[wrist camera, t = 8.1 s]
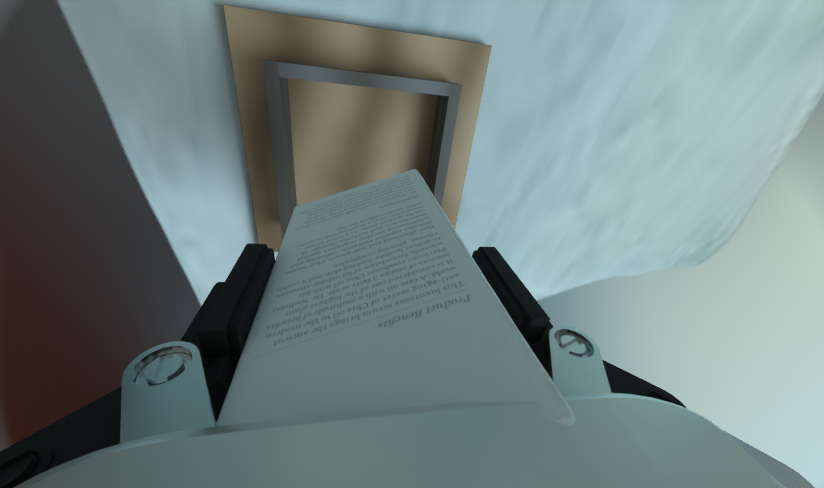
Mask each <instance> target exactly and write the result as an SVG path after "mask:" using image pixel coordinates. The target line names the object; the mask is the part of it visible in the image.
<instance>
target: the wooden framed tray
mask: <svg viewBox="0 0 824 488" xmlns="http://www.w3.org/2000/svg"><path fill="white" fill-rule="evenodd" d="M223 6H224V12H225V19H226V26H227V33H228V40H229V46H230V53H231V60H232V67H233V73H234V80H235V87H236V94H237V100H238V107H239V114H240V121H241V127H242V134H243V141H244V148H245V155H246V161H247V168H248V175H249V182H250V188H251V195H252V202H253V209H254V215H255V222H256V229H257V236H258V242H259V244H266V245H267V247H268V248H273V250H274V252H279V250H280V247H281V244H282V241H283V238H284V235H285V233H286V230H287V227H288V224H289V221H290V219H291V216H292V214H293V211H294V208H295V207H296V206H299V205H302V204H305V203H309V202H312V201H315V200H318V199H322V198H325V197H328V196H331V195H334V194H337V193H340V192H343V191H347V190H350V189H353V188H356V187H359V186H362V185H365V184H368V183H372V182H375V181H378V180H381V179H384V178H387V177H391V176H394V175H397V174H400V173H403V172H406V171H409V170H412V169H416V170H417V171H418V172H419V173H420V175H421V176H422V178H423V179H424V181H425V183H426V184H427V186H428V187H429V189H430V191H431V192H432V194H433V195H434V197H435V199H436V200H437V202H438V203H439V205H440V206H441V208H442V210H443V211H444V213H445V214H446V216H447V218H448V219H449V221H450V222H451V224H452V226H453V227H454V229H455V226H456V221H457V216H458V211H459V206H460V201H461V196H462V191H463V186H464V181H465V176H466V171H467V166H468V161H469V156H470V151H471V146H472V141H473V136H474V131H475V126H476V121H477V116H478V111H479V106H480V101H481V97H482V92H483V87H484V82H485V77H486V72H487V67H488V62H489V57H490V52H491V47H492V45H485V44H478V43H472V42H465V41H459V40H452V39H445V38H439V37H432V36H426V35H419V34H412V33H406V32H399V31H393V30H386V29H379V28H373V27H366V26H360V25H353V24H346V23H340V22H333V21H327V20H320V19H313V18H307V17H300V16H294V15H287V14H280V13H274V12H267V11H261V10H254V9H247V8H241V7H234V6H228V5H223Z"/></svg>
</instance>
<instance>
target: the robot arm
mask: <svg viewBox="0 0 824 488" xmlns="http://www.w3.org/2000/svg"><path fill="white" fill-rule="evenodd" d="M472 257H473V259H474V261H475V262H476V264H477V265H478V267H479V268H480V270H481V272H482V273H483V275H484V276H485V278H486V280H487V281H488V283H489V284H490V286H491V287H492V289H493V290H494V292H495V293H496V295H497V297H498V298H499V300H500V302H501V303H502V305H503V306H504V308H505V309H506V311H507V312H508V314H509V316H510V317H511V319H512V320H513V322H514V324H515V325H516V327H517V328H518V330H519V331H520V333H521V334H522V336H523V337H524V338H525V340H526V341H527V343H528V345H529V346H530V348H531V349H532V351H533V353H534V354H535V356H536V357H537V359H538V360H539V362H540V363H541V364H542V366H543V367H544V369H545V370H546V372H547V373H548V375H549V376H550V378H551V379H552V381H553V382H554V384H555V386H556V387H557V389H558V390H559V392H560V393H561V395H562V396H563V398H564V399H565V401H566V402H567V404H568V405H569V407H570V408H571V410H572V412H573V413H574V416H575V423H574V424H572V425H565V424H560V423H556V422H552V421H551V420H550V419H549V418H548V417H547V416H546V414H545V413H544V411H543V409H542V408H541V406H540V404H539V403H538V402H471V403H453V404H441V405H430V406H419V407H408V408H397V409H386V410H375V411H364V412H353V413H343V414H332V415H322V416H311V417H301V418H290V419H280V420H269V421H260V422H251V423H242V424H233V425H224V426H217V420H218V417H219V415H220V412H221V409H222V406H223V404H224V401H225V398H226V395H227V393H228V390H229V387H230V385H231V382H232V379H233V376H234V373H235V370H236V367H237V365H238V362H239V359H240V357H241V354H242V351H243V348H244V346H245V343H246V340H247V337H248V335H249V332H250V329H251V326H252V323H253V321H254V318H255V315H256V313H257V310H258V307H259V304H260V301H261V299H262V296H263V293H264V291H265V287H266V285H267V282H268V279H269V277H270V274H271V271H272V269H273V266H274V263H275V257H274V250H273V248H268V247H267V245H266V244H247V245H246V247H245V248H244V250H243V252H242V253H241V255H240V257H239V259H238V260H237V262H236V264H235V266H234V267H233V269H232V271H231V272H230V274H229V276H228V278H227V279H226V281H225V282H218V283H216V284H215V286H214V287H213V289H212V290H211V292H210V293H209V295H208V297H207V298H206V300H205V302H204V303H203V305H202V306H201V308H200V310H199V311H198V313H197V315H196V316H195V318H194V319H193V321H192V323H191V324H190V326H189V328H188V329H187V331H186V332H185V334H184V336H183V337H182V339H181V341H176V342H169V343H165V344H161V345H158V346H156V347H153V348H151V349H149V350H147V351H145V352H144V353H142V354H140V355H139V356H138V357H136V358H135V359H134V360H133V361H132V362H131V363H130V364H129V365H128V367H127V368H126V370H125V371H124V374H123V377H122V386H121V387H120V388H118V389H116V390H114V391H112V392H110V393H109V394H107V395H105V396H103V397H101V398H99V399H97V400H95V401H93V402H92V403H90V404H88V405H86V406H84V407H82V408H80V409H79V410H77V411H75V412H73V413H71V414H69V415H67V416H65V417H64V418H62V419H60V420H58V421H56V422H54V423H53V424H51V425H49V426H47V427H45V428H43V429H41V430H39V431H38V432H36V433H34V434H32V435H30V436H28V437H26V438H24V439H23V440H21V441H19V442H17V443H15V444H13V445H11V446H10V447H8V448H6V449H4V450H2V451H0V488H814V487H813V485H811V483H809V482H808V481H807V480H806V479H805V478H804V477H802V476H801V475H800V474H799V473H797V472H796V471H794V470H793V469H791V468H790V467H788V466H786V465H785V464H783V463H781V462H779V461H778V460H776V459H774V458H772V457H770V456H768V455H767V454H765V453H763V452H761V451H760V450H758V449H756V448H754V447H752V446H750V445H749V444H747V443H745V442H743V441H741V440H740V439H738V438H736V437H734V436H732V435H730V434H729V433H727V432H725V431H723V430H721V429H720V428H719V427H717V426H716V425H715V424H713V423H712V422H711V421H709V420H708V419H706V418H705V417H703V416H701V415H699V414H698V413H696V412H693V411H691V410H689V409H687V408H686V407H685V406H684V405H683V404H682V403H681V402H680V401H679V400H678V399H676V398H675V397H674V396H673V395H671V394H669V393H668V392H666V391H665V390H663V389H661V388H659V387H657V386H654V385H652V384H651V383H649V382H647V381H644V380H642V379H640V378H638V377H636V376H634V375H632V374H630V373H628V372H626V371H624V370H622V369H620V368H618V367H616V366H614V365H612V364H610V363H608V362H606V361H604V360H602V357H601V354H600V350H599V348H598V346H597V344H596V343H595V342H594V341H593V340H592V339H591V338H590V337H589V336H588V335H586V334H585V333H583V332H581V331H580V330H578V329H575V328H572V327H568V326H556V327H553V326H552V325H551V323H550V322H549V320H550V318H549V317H548V316H547V314H546V313H545V312H544V310H543V309H542V308H541V306H540V305H539V304H538V303H537V301H536V300H535V299H534V297H533V296H532V295H531V293H530V292H529V291H528V290H527V288H526V287H525V286H524V284H523V283H522V282H521V280H520V279H519V278H518V277H517V275H516V274H515V273H514V271H513V270H512V269H511V267H510V266H509V265H508V264H507V262H506V261H505V260H504V258H503V257H502V256H501V254H500V253H499V252H498V251H497V249H496V248H495V247H479V248H478V250H477V251H474V252H473V255H472Z"/></svg>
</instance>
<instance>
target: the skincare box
mask: <svg viewBox="0 0 824 488" xmlns="http://www.w3.org/2000/svg"><path fill="white" fill-rule="evenodd" d="M471 402H538V403H539V404H540V406H541V408H542V409H543V411H544V413H545V414H546V416H547V417H548V418H549V419H550V420H551V421H552V422H556V423H560V424H565V425H572V424H574V423H575V416H574V413H573V412H572V410H571V408H570V407H569V405H568V404H567V402H566V401H565V399H564V398H563V396H562V395H561V393H560V392H559V390H558V389H557V387H556V386H555V384H554V382H553V381H552V379H551V378H550V376H549V375H548V373H547V372H546V370H545V369H544V367H543V366H542V364H541V363H540V362H539V360H538V359H537V357H536V356H535V354H534V353H533V351H532V349H531V348H530V346H529V345H528V343H527V341H526V340H525V338H524V337H523V336H522V334H521V333H520V331H519V330H518V328H517V327H516V325H515V324H514V322H513V320H512V319H511V317H510V316H509V314H508V312H507V311H506V309H505V308H504V306H503V305H502V303H501V302H500V300H499V298H498V297H497V295H496V293H495V292H494V290H493V289H492V287H491V286H490V284H489V283H488V281H487V280H486V278H485V276H484V275H483V273H482V272H481V270H480V268H479V267H478V265H477V264H476V262H475V261H474V259H473V257H472V256H471V254H470V253H469V251H468V249H467V248H466V246H465V245H464V243H463V241H462V240H461V238H460V237H459V235H458V234H457V232H456V230H455V229H454V227H453V226H452V224H451V222H450V221H449V219H448V218H447V216H446V214H445V213H444V211H443V210H442V208H441V206H440V205H439V203H438V202H437V200H436V199H435V197H434V195H433V194H432V192H431V191H430V189H429V187H428V186H427V184H426V183H425V181H424V179H423V178H422V176H421V175H420V173H419V172H418V171H417V170H416V169H412V170H409V171H406V172H403V173H400V174H397V175H394V176H391V177H387V178H384V179H381V180H378V181H375V182H372V183H368V184H365V185H362V186H359V187H356V188H353V189H350V190H347V191H343V192H340V193H337V194H334V195H331V196H328V197H325V198H322V199H318V200H315V201H312V202H309V203H305V204H302V205H299V206H296V207H295V208H294V211H293V214H292V216H291V219H290V221H289V224H288V227H287V230H286V233H285V235H284V238H283V241H282V244H281V247H280V250H279V252H278V255H277V257H276V260H275V263H274V266H273V269H272V271H271V274H270V277H269V279H268V282H267V285H266V287H265V291H264V293H263V296H262V299H261V301H260V304H259V307H258V310H257V313H256V315H255V318H254V321H253V323H252V326H251V329H250V332H249V335H248V337H247V340H246V343H245V346H244V348H243V351H242V354H241V357H240V359H239V362H238V365H237V367H236V370H235V373H234V376H233V379H232V382H231V385H230V387H229V390H228V393H227V395H226V398H225V401H224V404H223V406H222V409H221V412H220V415H219V417H218V420H217V426H224V425H233V424H242V423H251V422H260V421H269V420H280V419H290V418H301V417H311V416H322V415H332V414H343V413H353V412H364V411H375V410H386V409H397V408H408V407H419V406H430V405H441V404H453V403H471Z"/></svg>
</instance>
